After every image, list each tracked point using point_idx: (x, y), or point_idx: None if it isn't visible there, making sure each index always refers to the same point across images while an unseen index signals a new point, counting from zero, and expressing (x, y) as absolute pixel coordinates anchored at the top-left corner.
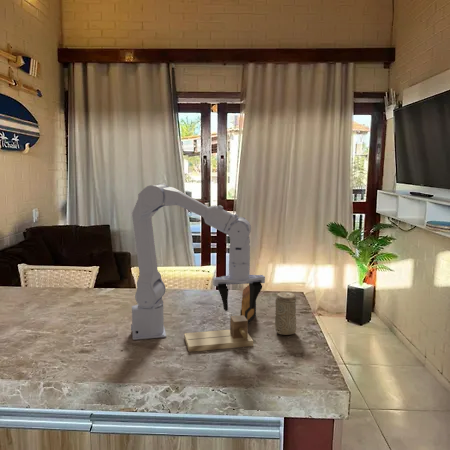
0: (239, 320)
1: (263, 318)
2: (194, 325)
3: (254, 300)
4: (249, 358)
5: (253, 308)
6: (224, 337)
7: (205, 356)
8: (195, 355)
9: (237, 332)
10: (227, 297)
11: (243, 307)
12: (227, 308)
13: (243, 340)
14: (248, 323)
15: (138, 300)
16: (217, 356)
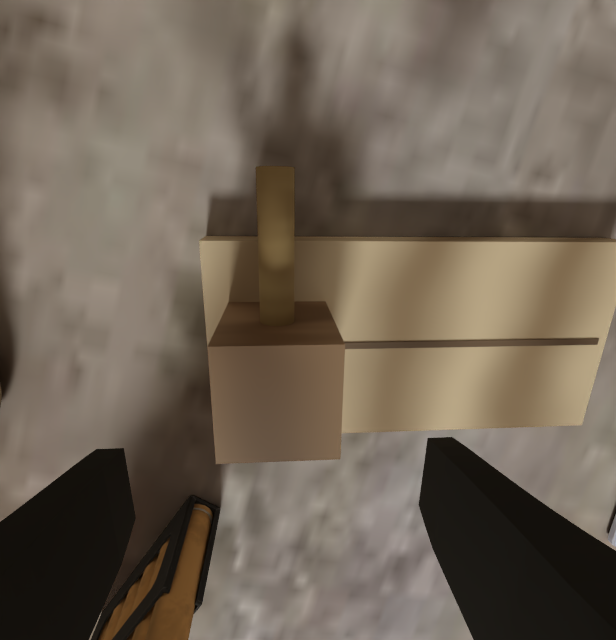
0: (286, 363)
1: None
2: None
3: (14, 529)
4: (278, 45)
5: (96, 450)
6: (377, 330)
7: (539, 154)
8: (588, 183)
9: (301, 313)
10: (568, 577)
11: (176, 620)
12: (445, 449)
13: None
14: (165, 528)
15: None
16: (471, 135)
